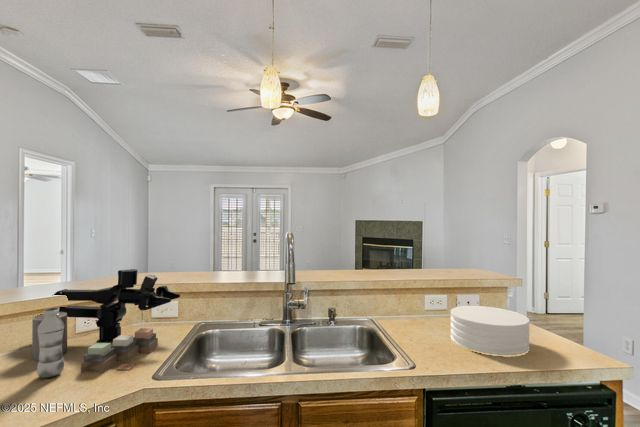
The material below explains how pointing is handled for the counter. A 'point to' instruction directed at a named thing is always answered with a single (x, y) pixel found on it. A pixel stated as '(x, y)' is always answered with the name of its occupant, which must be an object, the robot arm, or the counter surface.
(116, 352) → the button panel
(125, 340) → the cream button
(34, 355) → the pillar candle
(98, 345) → the sage button
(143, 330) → the terracotta button
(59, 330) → the plastic bottle
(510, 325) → the plate stack
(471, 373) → the counter surface
